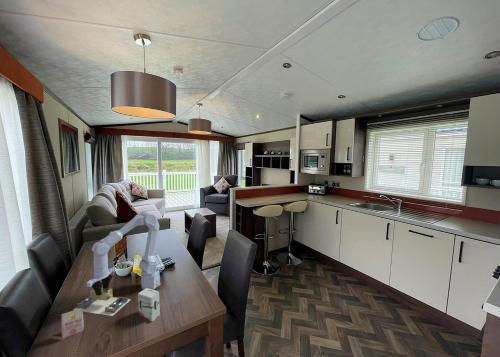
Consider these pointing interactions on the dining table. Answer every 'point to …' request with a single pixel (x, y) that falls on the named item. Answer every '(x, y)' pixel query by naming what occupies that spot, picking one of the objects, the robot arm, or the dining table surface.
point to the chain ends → (110, 308)
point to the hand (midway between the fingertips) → (102, 292)
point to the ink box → (149, 304)
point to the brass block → (102, 294)
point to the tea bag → (71, 323)
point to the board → (101, 306)
